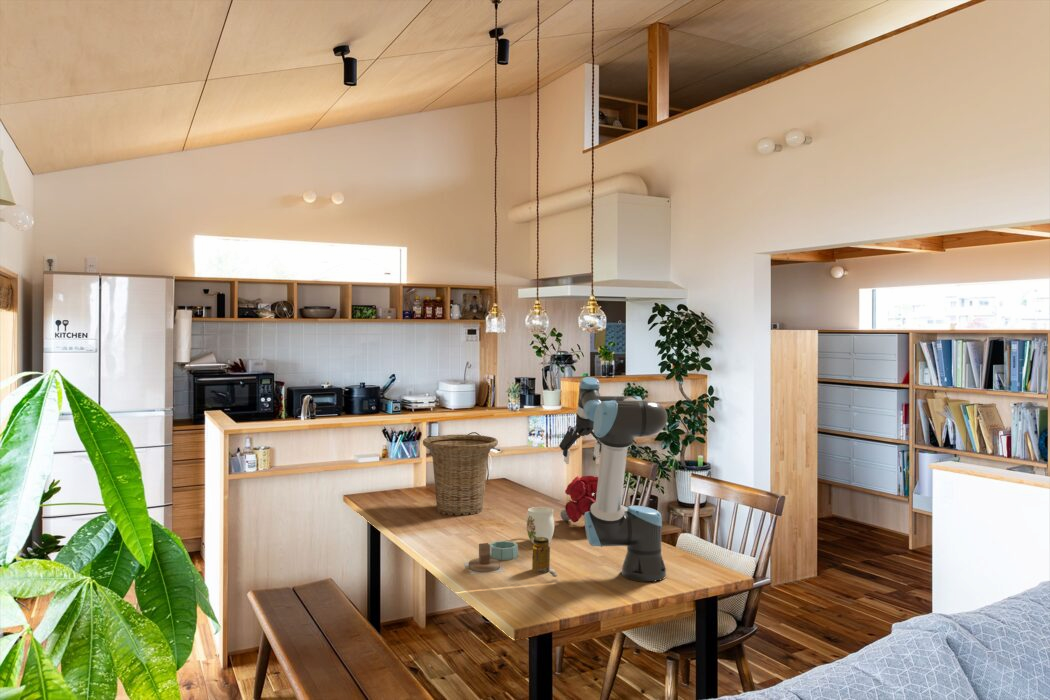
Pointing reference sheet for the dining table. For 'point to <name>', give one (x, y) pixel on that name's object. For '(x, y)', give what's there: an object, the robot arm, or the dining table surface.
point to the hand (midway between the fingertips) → (581, 459)
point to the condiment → (541, 556)
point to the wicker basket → (460, 471)
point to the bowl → (503, 550)
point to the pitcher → (540, 523)
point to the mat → (482, 572)
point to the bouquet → (580, 497)
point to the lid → (484, 560)
